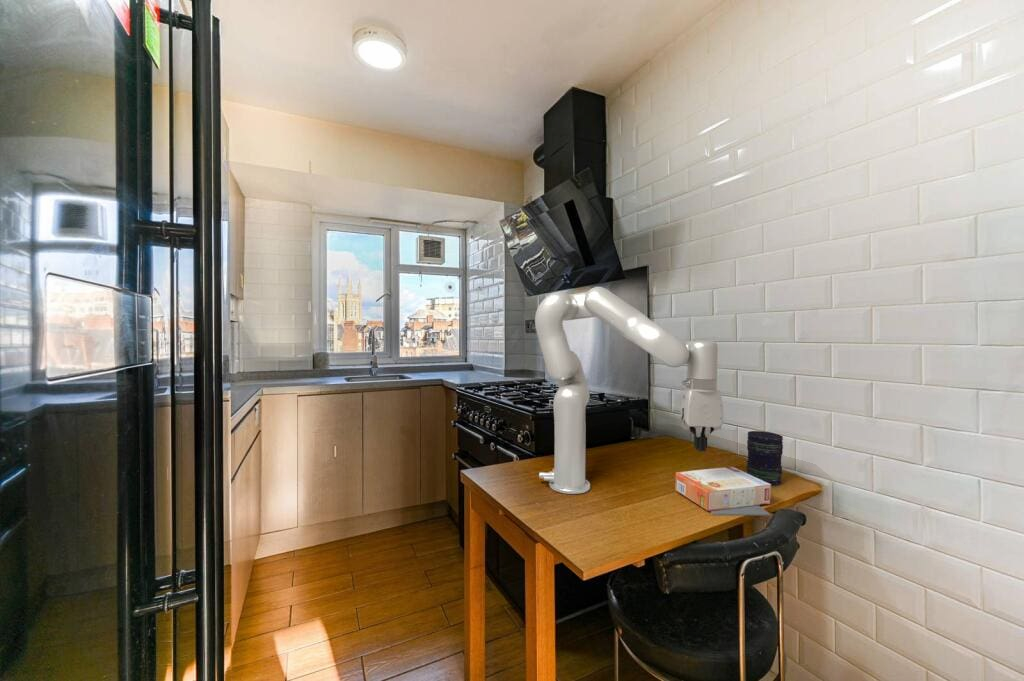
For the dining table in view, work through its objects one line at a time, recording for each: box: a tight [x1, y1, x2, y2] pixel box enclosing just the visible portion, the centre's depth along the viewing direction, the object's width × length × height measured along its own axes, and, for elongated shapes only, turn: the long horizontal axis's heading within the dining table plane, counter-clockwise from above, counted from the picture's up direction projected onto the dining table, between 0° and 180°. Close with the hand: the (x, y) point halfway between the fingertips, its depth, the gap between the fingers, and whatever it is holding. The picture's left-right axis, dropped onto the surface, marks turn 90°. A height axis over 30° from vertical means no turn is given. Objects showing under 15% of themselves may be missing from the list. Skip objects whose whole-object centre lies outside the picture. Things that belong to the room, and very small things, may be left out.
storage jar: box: [745, 430, 784, 487], centre depth 130 cm, size 10×10×15 cm
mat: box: [709, 505, 771, 517], centre depth 113 cm, size 15×14×1 cm
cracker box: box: [674, 466, 772, 512], centre depth 116 cm, size 14×6×21 cm
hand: (700, 449), depth 112 cm, fingers closed
